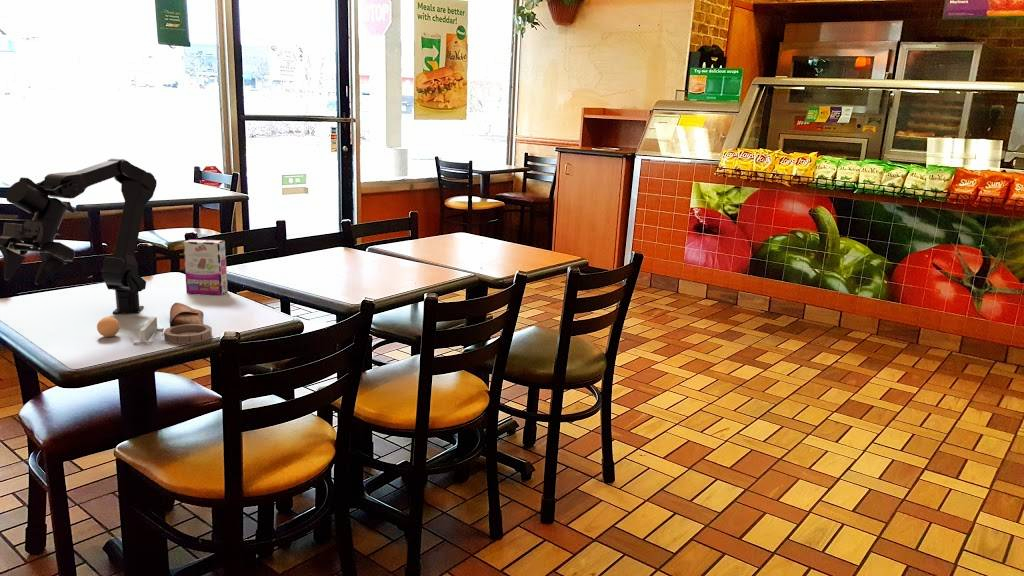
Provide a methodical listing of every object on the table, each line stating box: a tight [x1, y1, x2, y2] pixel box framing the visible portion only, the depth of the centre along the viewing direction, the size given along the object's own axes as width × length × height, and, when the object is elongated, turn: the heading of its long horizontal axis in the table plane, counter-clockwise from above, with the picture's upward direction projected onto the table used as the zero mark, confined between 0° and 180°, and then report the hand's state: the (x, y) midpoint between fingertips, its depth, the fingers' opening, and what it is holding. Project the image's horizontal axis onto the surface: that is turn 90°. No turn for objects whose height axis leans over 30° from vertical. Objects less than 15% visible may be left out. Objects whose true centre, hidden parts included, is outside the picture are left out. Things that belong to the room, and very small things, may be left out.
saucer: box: [163, 323, 213, 345], centre depth 189 cm, size 11×11×2 cm
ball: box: [96, 316, 121, 338], centre depth 188 cm, size 5×5×5 cm
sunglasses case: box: [169, 302, 204, 328], centre depth 201 cm, size 18×7×7 cm
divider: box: [133, 316, 165, 345], centre depth 189 cm, size 12×4×4 cm, turn 11°
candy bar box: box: [182, 239, 229, 296], centre depth 231 cm, size 11×5×16 cm, turn 88°
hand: (21, 281), depth 178 cm, fingers open, 9 cm apart
